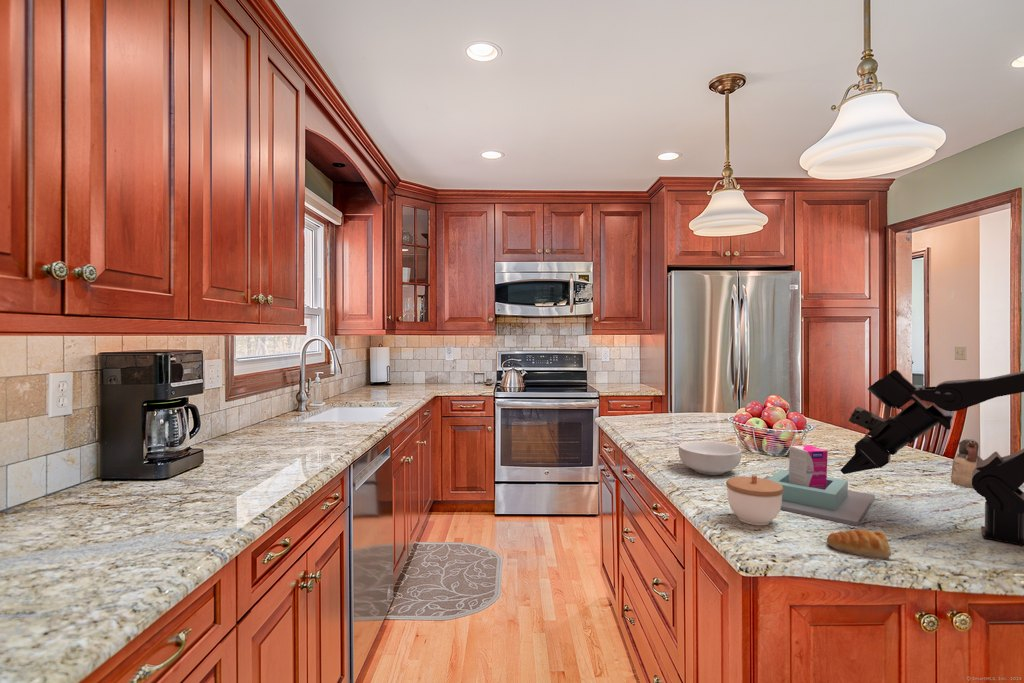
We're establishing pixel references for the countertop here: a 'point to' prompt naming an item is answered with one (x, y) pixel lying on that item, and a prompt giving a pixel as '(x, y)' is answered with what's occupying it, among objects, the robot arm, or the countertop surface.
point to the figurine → (965, 463)
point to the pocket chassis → (823, 499)
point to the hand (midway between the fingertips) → (846, 468)
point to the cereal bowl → (710, 456)
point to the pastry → (861, 543)
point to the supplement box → (808, 466)
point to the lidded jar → (754, 499)
